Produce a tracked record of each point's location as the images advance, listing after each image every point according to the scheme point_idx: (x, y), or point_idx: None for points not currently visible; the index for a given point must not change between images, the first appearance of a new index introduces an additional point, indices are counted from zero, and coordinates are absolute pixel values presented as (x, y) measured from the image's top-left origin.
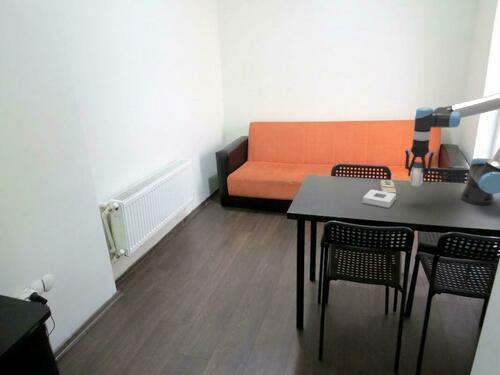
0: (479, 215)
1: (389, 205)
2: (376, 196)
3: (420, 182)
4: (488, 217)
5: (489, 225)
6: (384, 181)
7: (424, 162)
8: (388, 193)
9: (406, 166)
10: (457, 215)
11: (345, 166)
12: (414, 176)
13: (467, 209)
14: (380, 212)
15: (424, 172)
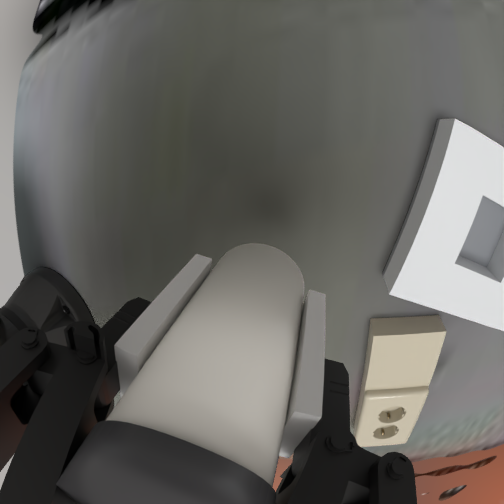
0: (37, 167)
1: (443, 123)
2: (488, 270)
3: (202, 267)
4: (23, 159)
5: (26, 88)
6: (396, 434)
7: (5, 487)
8: (437, 290)
9: (397, 492)
10: (89, 130)
11: (443, 494)
12: (265, 319)
13: (64, 216)
14: (475, 60)
15: (87, 325)
